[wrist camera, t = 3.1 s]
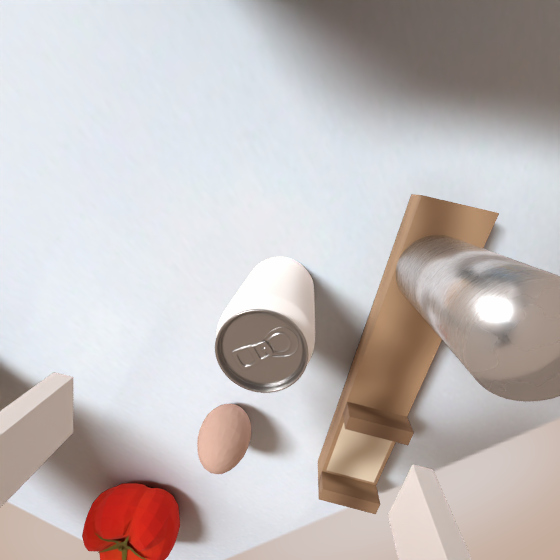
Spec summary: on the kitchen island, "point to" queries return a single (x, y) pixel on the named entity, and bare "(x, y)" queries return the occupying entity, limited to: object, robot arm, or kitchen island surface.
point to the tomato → (132, 523)
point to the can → (268, 327)
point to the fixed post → (488, 313)
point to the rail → (389, 364)
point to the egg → (224, 438)
